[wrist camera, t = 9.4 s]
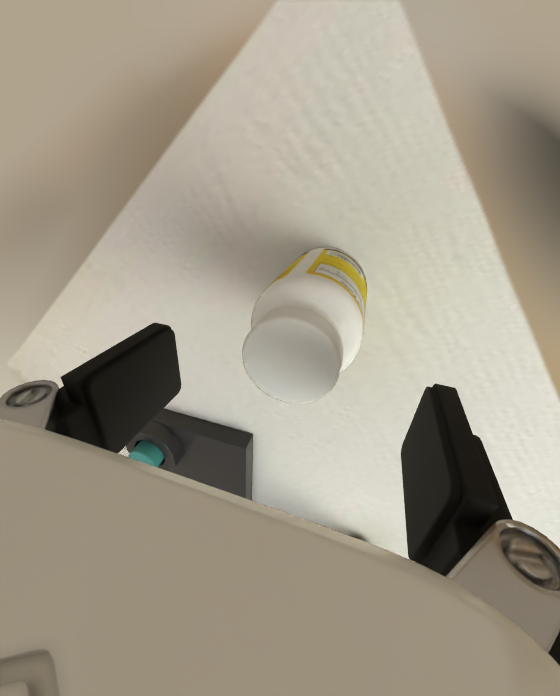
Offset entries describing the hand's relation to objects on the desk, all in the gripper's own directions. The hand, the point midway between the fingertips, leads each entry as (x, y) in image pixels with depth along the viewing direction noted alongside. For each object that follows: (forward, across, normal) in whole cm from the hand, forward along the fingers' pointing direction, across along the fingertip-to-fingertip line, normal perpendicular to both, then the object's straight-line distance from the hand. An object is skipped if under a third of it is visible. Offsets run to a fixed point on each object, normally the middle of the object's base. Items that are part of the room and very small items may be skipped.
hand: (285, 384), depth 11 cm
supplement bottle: (+11, 0, 0) cm, 11 cm away
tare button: (+8, +15, +19) cm, 25 cm away
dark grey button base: (+11, +12, +24) cm, 29 cm away
